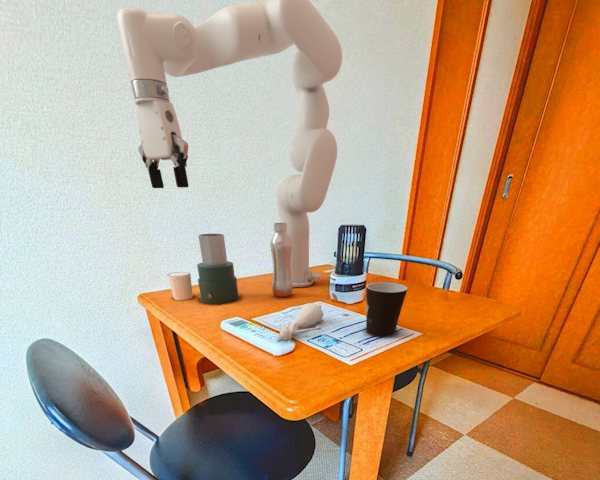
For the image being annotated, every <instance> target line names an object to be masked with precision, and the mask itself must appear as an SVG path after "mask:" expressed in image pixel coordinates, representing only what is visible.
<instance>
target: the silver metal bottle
mask: <svg viewBox="0 0 600 480" xmlns="http://www.w3.org/2000/svg"><path fill="white" fill-rule="evenodd" d="M273 231H274V234H273V235H272V237H271V240H270V243H269V248H270V254H271V261H272V282H271V290H272V294H273V295H274V296H275V297H280V298H281V297H283V298H284V297H289V296H291V295H292V293H293V290H294V289H293V288H294V287H293V285H292V280H291V270H290V263H291V250H292V242H291V240H290V238H289V236H288V235H287V233H286V231H287V224H286V223H280V222H274V223H273Z"/></svg>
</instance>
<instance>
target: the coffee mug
mask: <svg viewBox="0 0 600 480" xmlns="http://www.w3.org/2000/svg"><path fill="white" fill-rule="evenodd" d="M365 289H366V290H365V291H366V292H365V294H366V297H365V298H366V299H365V300H366V301H365V303H366V304H365V306H366V307H365V309H366V311H365V313H366V316H365V317H366V318H365V319H366V321H365V322H366V323H365V326H366V328H365V330H366V331H365V332H367V334H369V335H370V336H374V337H379V338H381V337H383V338H385V337H391V336H394V334H395V332H396V330H397V325H398V322H399V318H400V316H401V312H402V308H403V306H404V302H405V298H406V295H407V291H408V287H407V286H406V285H403V284H400V283H395V282H387V281H386V282H385V281H384V282H383V281H382V282H381V281H380V282H371V283H368V284H366V288H365Z"/></svg>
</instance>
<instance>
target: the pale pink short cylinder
mask: <svg viewBox="0 0 600 480" xmlns="http://www.w3.org/2000/svg"><path fill="white" fill-rule="evenodd" d="M166 278H167V281H168V284H169V287H170V290H171V293H172V297H173V299H174V300H175V301H186V300H191V299H193V298H194V297H193V295H194V294H193V285H192V276H191V272H188V271H187V272H186V271H176V272H175V271H174V272H170V273H167V274H166Z"/></svg>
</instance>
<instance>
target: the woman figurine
mask: <svg viewBox="0 0 600 480" xmlns="http://www.w3.org/2000/svg"><path fill="white" fill-rule="evenodd" d="M323 318H324V312H323V309H322V305H321V304H319V305H318V304H316V303H313V302H312V303H311V302H310V303H308V302H307V303H305V304H303V305H302V306H301V308H300V309H299V311H298V313H297V314H296V316H295V317H294V319H292V322H291V321H288V323H287V324H286V326H285V325H284V324H283V322H282V319H281V318H278V319H277V322H278V324H279V325H280V327H281V328H282V329H281V330H280V331H279V334H278V338H279V340H281V341H283V342H288V341H290V340H292V337H293V336H297V335H299V334H301V333H306V332H312V331H319V330H322V329H323V326H320V325H316V326H315V327H311V326H314V325H315V324H317V323H319V322H321V321H322V320H323ZM308 327H311V328H308ZM280 337H281V338H280ZM284 338H286V339H284Z"/></svg>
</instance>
